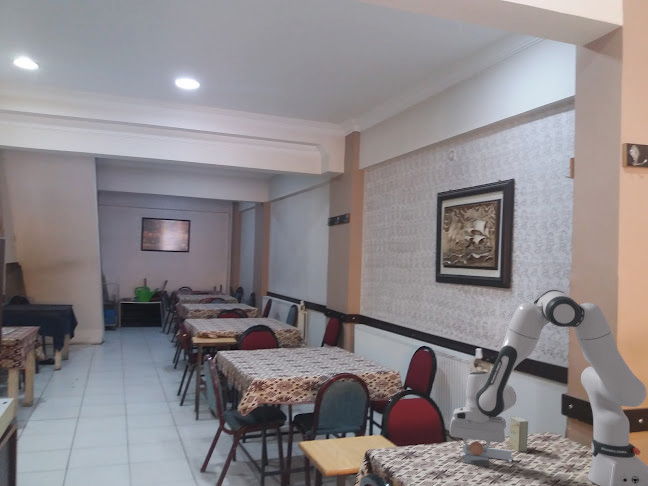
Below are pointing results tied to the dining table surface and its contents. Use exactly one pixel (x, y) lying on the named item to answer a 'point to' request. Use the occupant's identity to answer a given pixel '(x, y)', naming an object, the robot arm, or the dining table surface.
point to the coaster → (476, 460)
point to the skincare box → (518, 433)
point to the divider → (492, 453)
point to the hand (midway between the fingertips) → (476, 450)
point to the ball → (476, 448)
